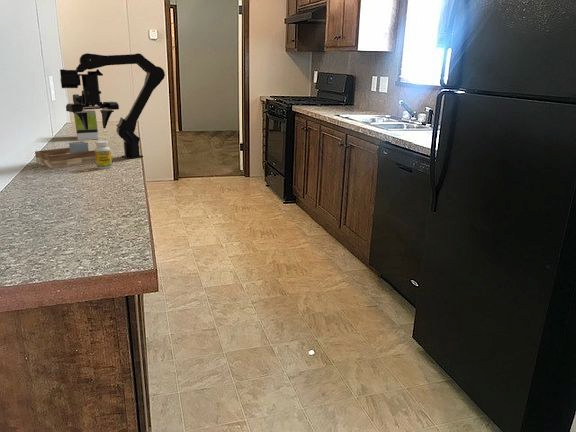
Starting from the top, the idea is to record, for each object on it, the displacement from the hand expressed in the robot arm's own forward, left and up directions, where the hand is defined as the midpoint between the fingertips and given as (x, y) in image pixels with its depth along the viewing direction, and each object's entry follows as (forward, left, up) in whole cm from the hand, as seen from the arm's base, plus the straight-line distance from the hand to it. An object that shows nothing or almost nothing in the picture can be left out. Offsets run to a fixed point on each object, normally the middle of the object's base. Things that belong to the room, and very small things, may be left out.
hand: (95, 129), depth 184 cm
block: (0, +8, -10) cm, 12 cm away
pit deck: (+3, +10, -12) cm, 16 cm away
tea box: (+58, -24, -12) cm, 64 cm away
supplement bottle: (-16, +6, -12) cm, 21 cm away
